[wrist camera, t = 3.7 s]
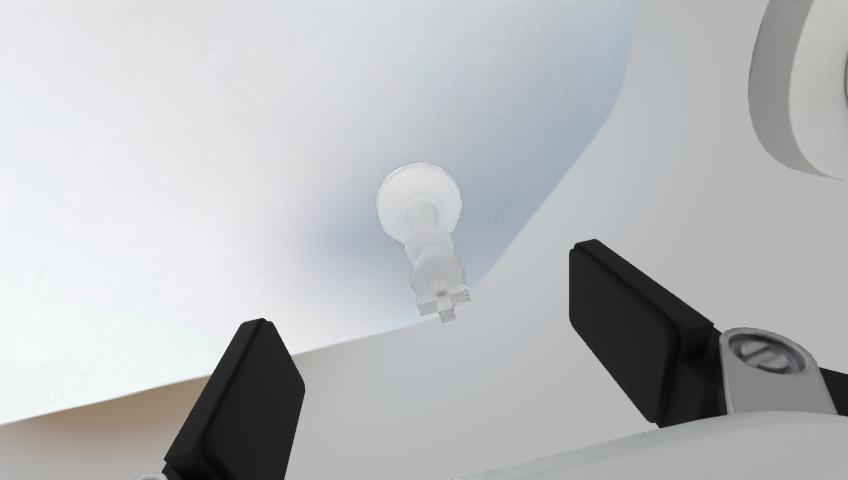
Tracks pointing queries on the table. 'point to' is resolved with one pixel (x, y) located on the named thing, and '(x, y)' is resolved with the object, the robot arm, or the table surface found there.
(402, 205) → the chess piece
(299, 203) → the table surface
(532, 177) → the table surface
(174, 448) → the robot arm
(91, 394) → the table surface
